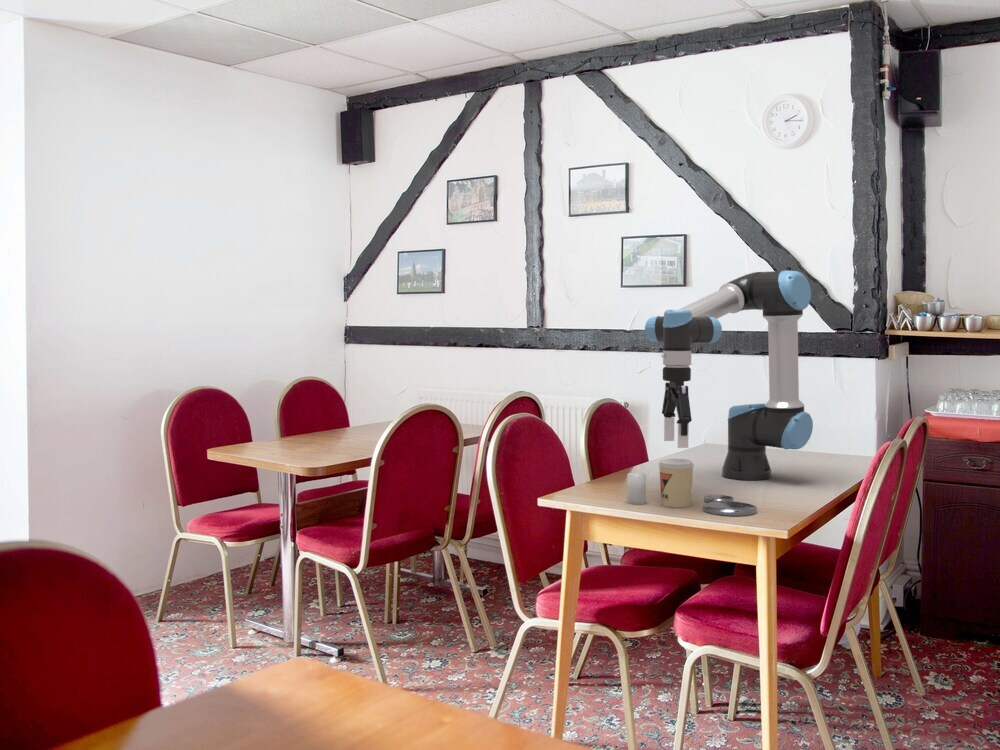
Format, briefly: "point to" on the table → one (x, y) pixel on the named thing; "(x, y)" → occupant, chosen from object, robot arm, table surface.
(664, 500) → the coffee cup
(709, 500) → the flange small
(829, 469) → the table surface
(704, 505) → the disc
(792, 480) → the table surface
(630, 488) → the grey cylinder
